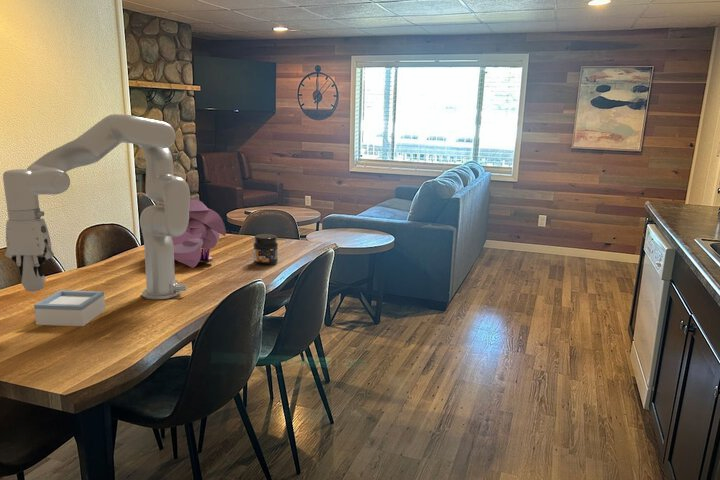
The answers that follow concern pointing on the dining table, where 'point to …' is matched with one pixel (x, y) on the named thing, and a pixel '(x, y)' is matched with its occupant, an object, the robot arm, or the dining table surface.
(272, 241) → the supplement container
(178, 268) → the dining table surface
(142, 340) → the dining table surface
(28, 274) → the salt shaker
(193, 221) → the flower arrangement
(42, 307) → the stand
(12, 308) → the dining table surface
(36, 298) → the dining table surface
